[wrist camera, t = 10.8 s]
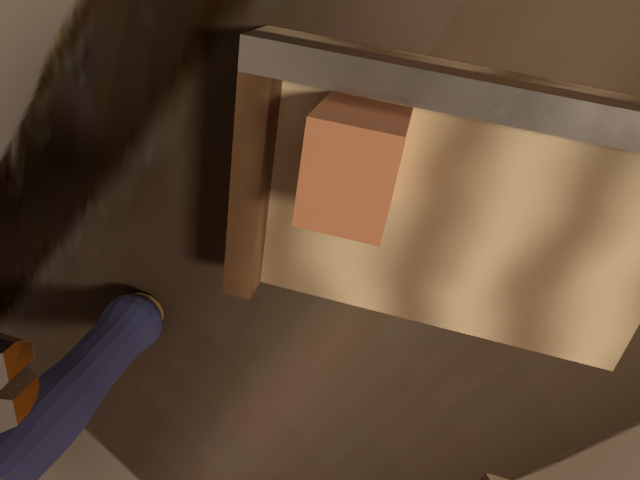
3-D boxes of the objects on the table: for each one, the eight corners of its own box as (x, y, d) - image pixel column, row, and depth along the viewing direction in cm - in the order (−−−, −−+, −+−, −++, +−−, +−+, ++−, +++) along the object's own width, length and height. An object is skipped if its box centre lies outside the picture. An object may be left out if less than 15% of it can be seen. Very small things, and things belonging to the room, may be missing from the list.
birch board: (729, 113, 24) (776, 138, 20) (603, 348, 31) (622, 397, 27) (267, 25, 26) (240, 33, 23) (246, 259, 33) (222, 293, 30)
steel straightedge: (751, 124, 22) (776, 138, 20) (731, 160, 23) (754, 176, 21) (254, 29, 25) (240, 33, 23) (252, 64, 26) (237, 71, 24)
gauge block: (413, 107, 25) (405, 137, 20) (391, 202, 27) (379, 246, 23) (331, 90, 25) (306, 116, 21) (316, 185, 28) (291, 226, 23)
